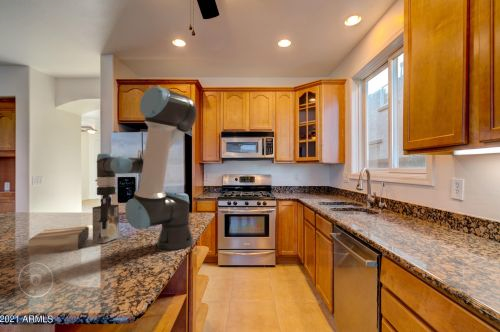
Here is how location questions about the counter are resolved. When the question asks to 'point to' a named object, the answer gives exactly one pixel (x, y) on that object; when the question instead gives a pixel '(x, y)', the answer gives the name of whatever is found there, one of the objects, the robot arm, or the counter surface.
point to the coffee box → (112, 224)
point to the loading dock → (58, 240)
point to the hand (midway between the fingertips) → (106, 233)
